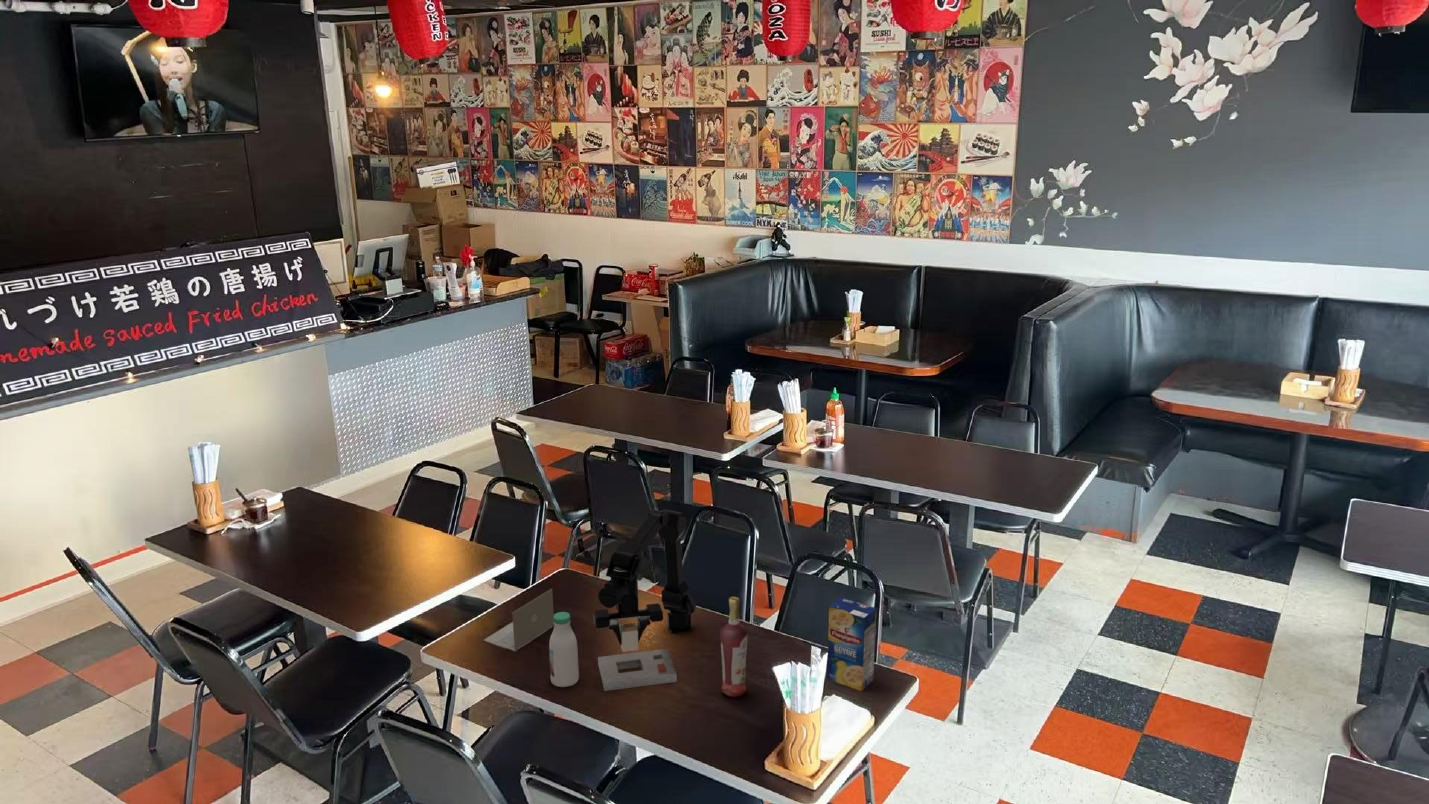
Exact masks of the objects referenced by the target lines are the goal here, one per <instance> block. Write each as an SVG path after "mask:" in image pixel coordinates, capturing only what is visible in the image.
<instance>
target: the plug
mask: <svg viewBox="0 0 1429 804" xmlns="http://www.w3.org/2000/svg"><path fill="white" fill-rule="evenodd" d="M619 628H620V634H621V640H622V643H621V645H620V648H621V651H622V653H624V652H625V653H626V652H634V651H639V643H638V630H637V623H636V622H633V623H632V622H630V623H629V622H628V623H623V624H619Z"/></svg>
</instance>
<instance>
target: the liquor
mask: <svg viewBox="0 0 1429 804" xmlns="http://www.w3.org/2000/svg"><path fill="white" fill-rule="evenodd" d="M728 605H729V606H728V607H729V615H728V616H729V617H728V623H726V624H724V625H723V626H721V627H720V630H719V632H720V633H719V634H720V651H721V652H720V653H721V668H722V669H721V670H722V671H721V672H722V685H721V687H720V688H721V689H720V690H721V692H723V694H725V695H726V696H728V697H730V698H739V697H741V696H742V695H743V694H744V693H746V692H747V689H748V688H747V686H746V664H747V663H746V661H747V652H748V651H747V649H748V636H749V635H748V633H749V632H748V631H749V629H748V627H747V626H745V625H743V624H742V623H741V622H740V615H739V614H740V613H739V607H740V598H739V597H738V596H730V597H728Z"/></svg>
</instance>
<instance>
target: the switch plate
mask: <svg viewBox="0 0 1429 804" xmlns="http://www.w3.org/2000/svg"><path fill="white" fill-rule="evenodd" d="M597 663H598V664H597V665H598V669H599V673H600V678H601V682H602V687H603V690H604V692H609V691H615V690H616V691H617V690H626V689H630V688H631V689H632V688H639V687H640V688H641V687H646V686H655V685H662V684H663V685H664V684H670V683H676V682H678V681H677V679H678V678H677V677H678V675H677V672H676V669H675V668H676V667H675V665H674V663H673V660H672V658H671V655H670V653H669V650H668V648H661V649H654V650H647V651H638V652H637V651H636V652H631V653H620V654H613V655H612V654H611V655H606V656H605V655H604V656H598V657H597ZM637 668H640V670H636V671H635V670H634V671H627V672H626V671H625V672H619V671H621V670H629V669H637Z"/></svg>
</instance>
